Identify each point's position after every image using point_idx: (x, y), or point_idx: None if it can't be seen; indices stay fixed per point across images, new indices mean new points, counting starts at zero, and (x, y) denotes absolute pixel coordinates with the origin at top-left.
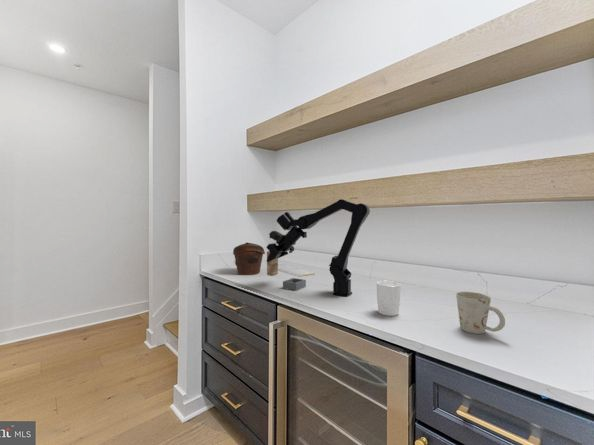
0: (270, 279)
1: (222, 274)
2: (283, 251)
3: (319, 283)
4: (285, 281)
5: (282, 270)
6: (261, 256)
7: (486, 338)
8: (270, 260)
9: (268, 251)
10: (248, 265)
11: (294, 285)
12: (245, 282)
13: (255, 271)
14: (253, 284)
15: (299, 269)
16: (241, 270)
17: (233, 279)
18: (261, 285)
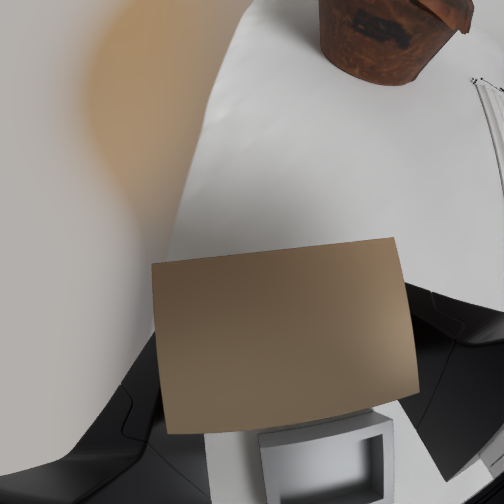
0: (375, 205)
1: (267, 15)
2: (472, 454)
3: (464, 470)
4: (269, 462)
5: (500, 144)
6: (441, 34)
7: None
8: None
9: (195, 278)
10: (350, 37)
11: None
12: (221, 151)
13: (381, 75)
14: (213, 217)
15: None
16: (323, 37)
17: (231, 77)
18: None
